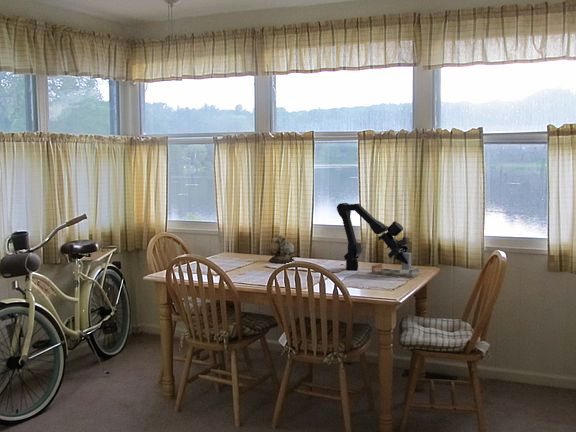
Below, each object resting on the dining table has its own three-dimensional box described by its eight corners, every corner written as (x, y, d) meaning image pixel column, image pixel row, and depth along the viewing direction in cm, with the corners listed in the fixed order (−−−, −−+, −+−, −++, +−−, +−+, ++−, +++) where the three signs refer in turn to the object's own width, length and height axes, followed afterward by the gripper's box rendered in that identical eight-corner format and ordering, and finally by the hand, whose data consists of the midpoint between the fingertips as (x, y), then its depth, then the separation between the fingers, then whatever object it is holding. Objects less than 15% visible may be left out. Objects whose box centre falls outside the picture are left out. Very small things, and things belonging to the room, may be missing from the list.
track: (371, 273, 333) (371, 265, 332) (378, 270, 341) (378, 263, 341) (412, 278, 320) (412, 269, 320) (418, 275, 328) (419, 267, 328)
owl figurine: (264, 263, 366) (264, 235, 365) (270, 260, 378) (270, 233, 376) (292, 264, 361) (292, 236, 360) (298, 261, 372) (298, 234, 371)
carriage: (399, 273, 326) (400, 253, 325) (403, 271, 331) (404, 252, 330) (409, 274, 323) (409, 254, 322) (413, 272, 328) (413, 252, 327)
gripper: (394, 234, 319) (413, 256, 314) (406, 230, 335) (425, 251, 330) (380, 247, 324) (398, 269, 319) (393, 243, 340) (411, 264, 335)
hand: (409, 263), depth 326 cm, fingers closed on carriage, 4 cm apart
